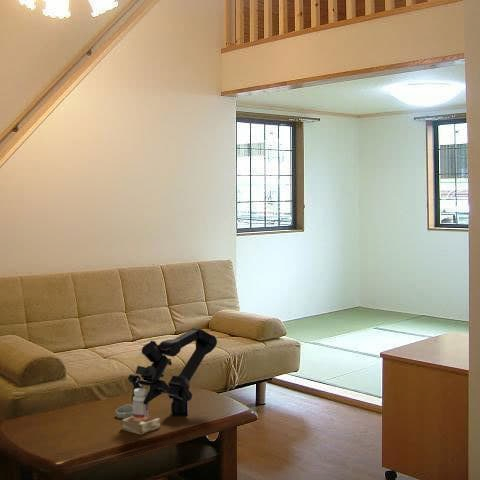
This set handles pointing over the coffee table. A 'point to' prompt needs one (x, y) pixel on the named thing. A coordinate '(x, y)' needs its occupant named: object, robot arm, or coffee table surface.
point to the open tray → (139, 425)
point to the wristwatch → (125, 411)
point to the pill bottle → (140, 404)
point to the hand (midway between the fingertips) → (138, 402)
